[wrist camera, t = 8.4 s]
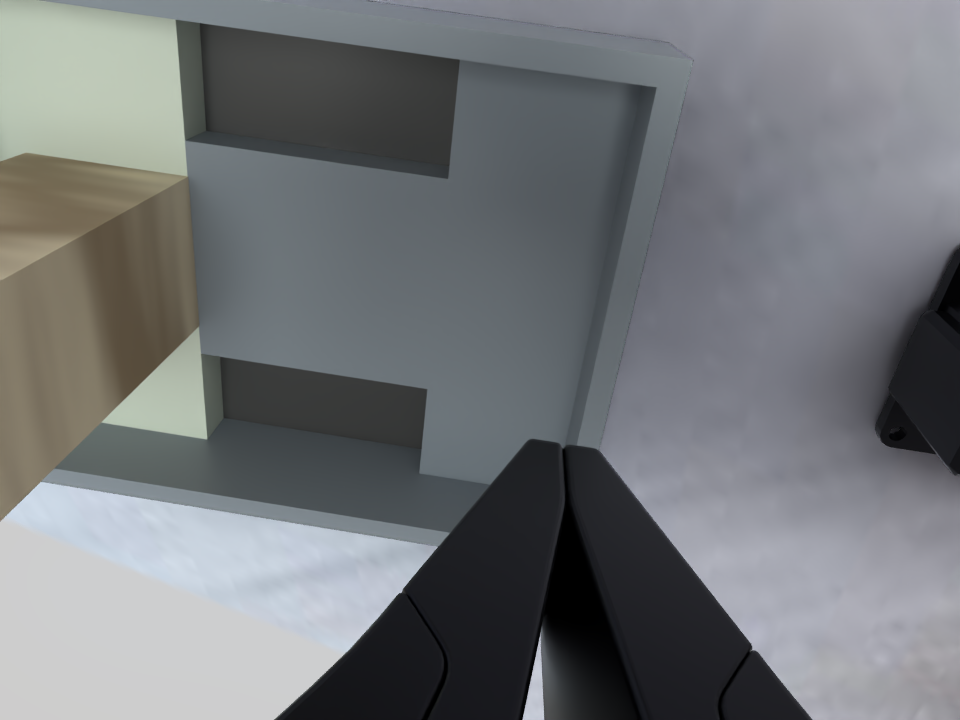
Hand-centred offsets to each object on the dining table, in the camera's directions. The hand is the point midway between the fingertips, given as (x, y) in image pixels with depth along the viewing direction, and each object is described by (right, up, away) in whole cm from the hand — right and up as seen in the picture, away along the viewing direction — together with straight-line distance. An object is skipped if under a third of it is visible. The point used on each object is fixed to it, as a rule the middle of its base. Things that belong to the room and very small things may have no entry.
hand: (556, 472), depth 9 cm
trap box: (-6, +5, +13) cm, 15 cm away
